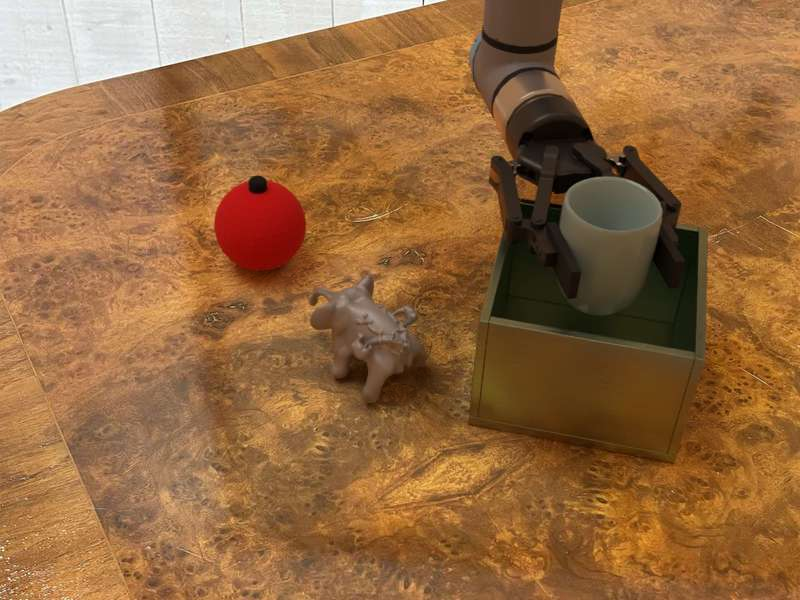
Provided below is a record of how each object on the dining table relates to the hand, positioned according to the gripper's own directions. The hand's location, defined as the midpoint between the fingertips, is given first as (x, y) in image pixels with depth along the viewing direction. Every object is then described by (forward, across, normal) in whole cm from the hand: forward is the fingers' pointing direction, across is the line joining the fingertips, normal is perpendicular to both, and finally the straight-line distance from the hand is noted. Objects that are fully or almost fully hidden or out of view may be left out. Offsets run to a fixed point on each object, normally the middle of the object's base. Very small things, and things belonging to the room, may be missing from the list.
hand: (626, 280), depth 84 cm
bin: (-5, 0, -15) cm, 16 cm away
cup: (-5, 0, -6) cm, 8 cm away
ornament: (-25, +27, -15) cm, 40 cm away
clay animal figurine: (-9, +20, -15) cm, 27 cm away
